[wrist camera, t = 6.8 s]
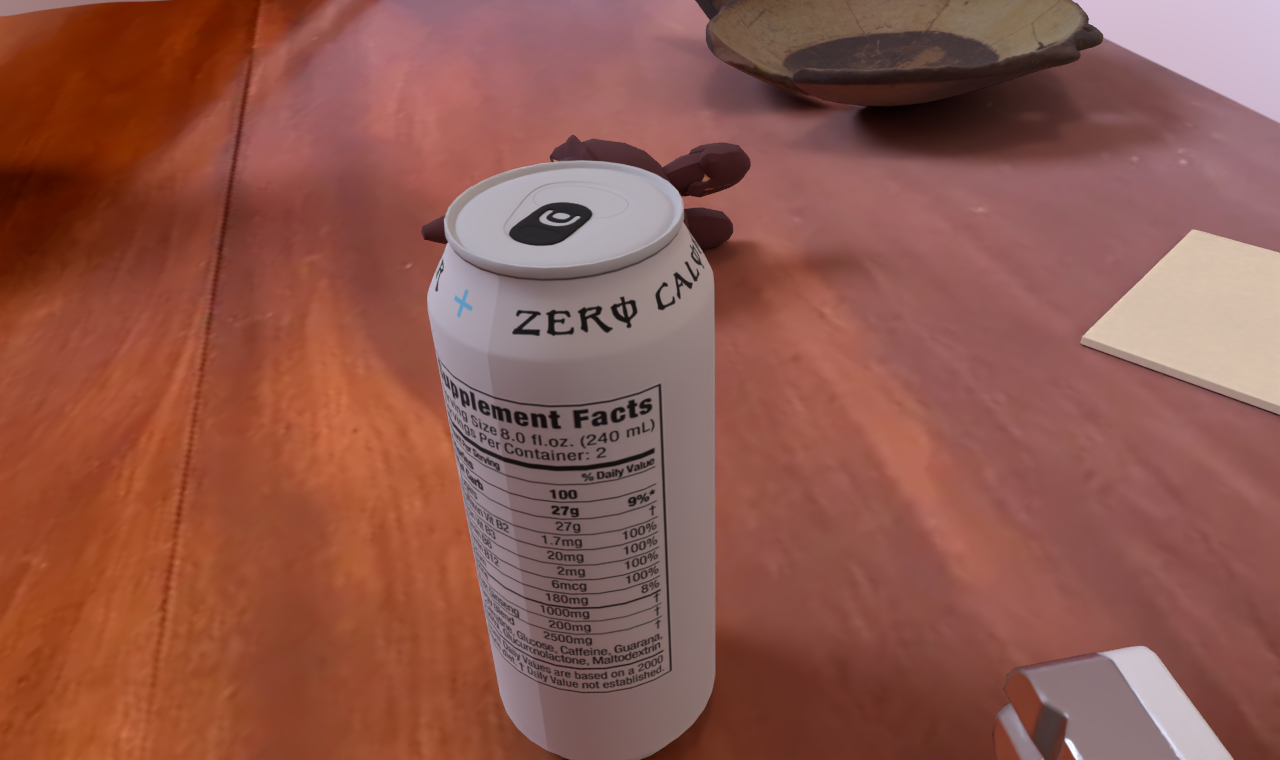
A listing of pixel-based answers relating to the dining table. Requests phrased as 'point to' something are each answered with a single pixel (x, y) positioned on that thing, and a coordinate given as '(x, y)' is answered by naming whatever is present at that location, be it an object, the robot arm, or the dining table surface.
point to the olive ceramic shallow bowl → (895, 44)
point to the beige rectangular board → (1204, 319)
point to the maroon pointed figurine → (688, 174)
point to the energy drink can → (585, 448)
